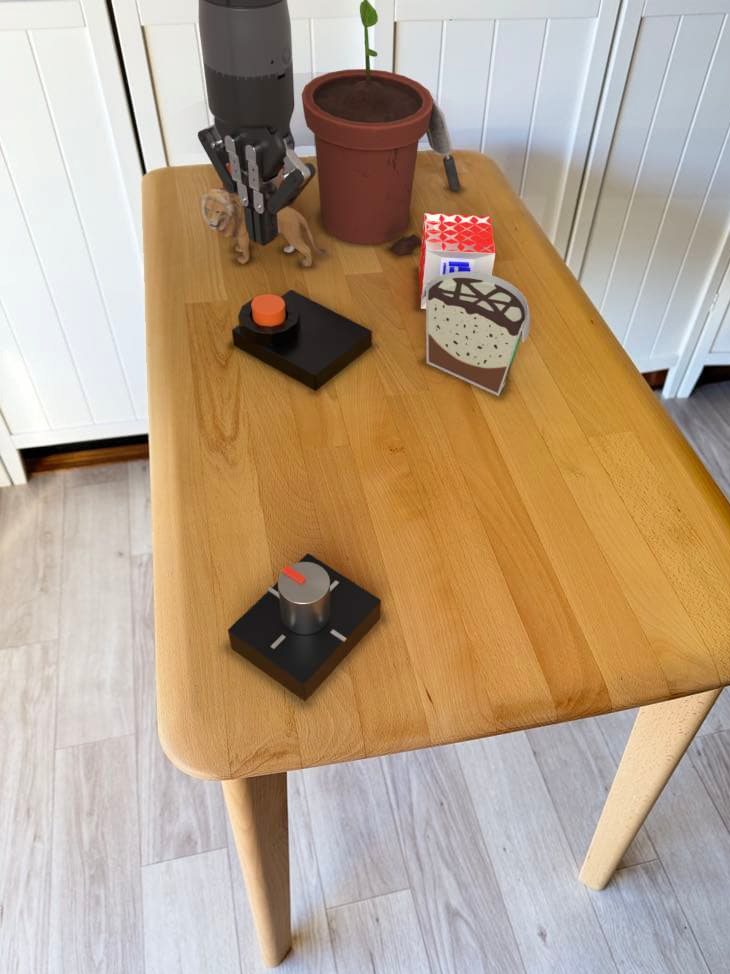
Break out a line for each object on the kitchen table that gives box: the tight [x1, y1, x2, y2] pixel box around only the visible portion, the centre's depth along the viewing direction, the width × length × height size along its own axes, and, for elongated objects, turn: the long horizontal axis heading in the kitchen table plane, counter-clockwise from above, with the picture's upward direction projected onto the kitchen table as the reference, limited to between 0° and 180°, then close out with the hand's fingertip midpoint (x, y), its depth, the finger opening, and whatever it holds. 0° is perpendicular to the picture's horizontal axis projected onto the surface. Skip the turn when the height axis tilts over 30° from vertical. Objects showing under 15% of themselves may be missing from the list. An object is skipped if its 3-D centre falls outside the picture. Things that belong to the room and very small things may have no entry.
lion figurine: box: [200, 187, 327, 268], centre depth 99 cm, size 15×5×9 cm, turn 98°
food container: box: [421, 271, 531, 397], centre depth 88 cm, size 12×6×10 cm, turn 58°
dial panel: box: [227, 552, 382, 702], centre depth 68 cm, size 10×8×3 cm
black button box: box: [231, 289, 373, 392], centre depth 91 cm, size 10×12×4 cm
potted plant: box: [301, 0, 461, 256], centre depth 100 cm, size 18×22×25 cm
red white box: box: [418, 212, 496, 310], centre depth 98 cm, size 8×8×8 cm
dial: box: [277, 561, 330, 635], centre depth 65 cm, size 4×4×5 cm
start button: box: [251, 293, 286, 327], centre depth 89 cm, size 4×4×2 cm
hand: (262, 239), depth 82 cm, fingers closed
